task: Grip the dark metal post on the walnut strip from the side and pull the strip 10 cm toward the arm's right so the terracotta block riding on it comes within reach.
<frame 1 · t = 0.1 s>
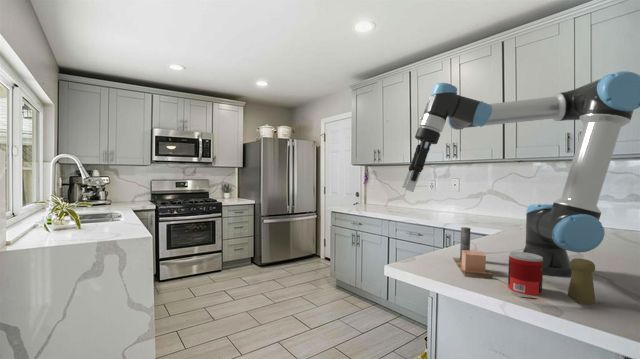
hand: (407, 189, 105), 28 cm above the countertop, tool tilted 20°, fingers open, 13 cm apart
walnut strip: (470, 251, 107), point 7 cm above the countertop, slide at 0.0 cm, touching terracotta block
cork: (581, 300, 83), on the countertop
canned food: (524, 294, 87), on the countertop
terracotta block: (472, 270, 103), point 1 cm above the countertop, touching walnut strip
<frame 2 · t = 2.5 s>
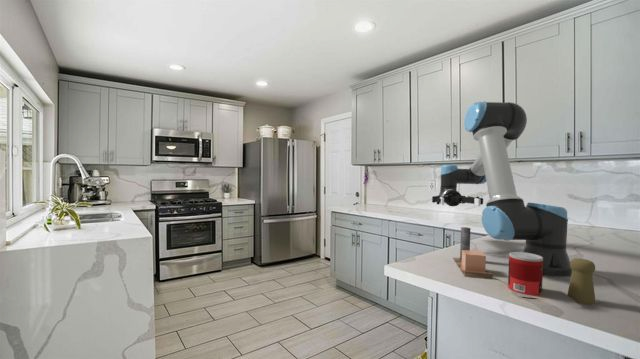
hand: (461, 202, 124), 22 cm above the countertop, tool horizontal, fingers open, 13 cm apart
nothing on the countertop moved.
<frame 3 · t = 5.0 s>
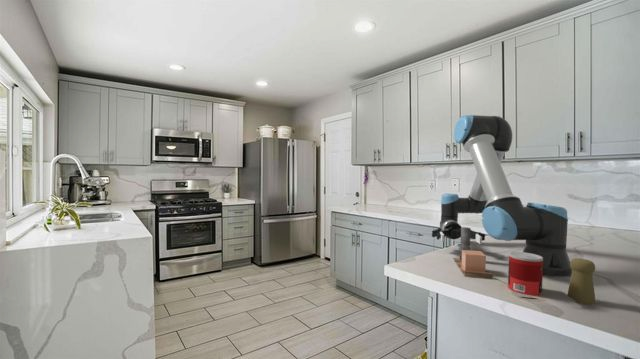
hand: (461, 239, 120), 8 cm above the countertop, tool horizontal, fingers open, 13 cm apart
nothing on the countertop moved.
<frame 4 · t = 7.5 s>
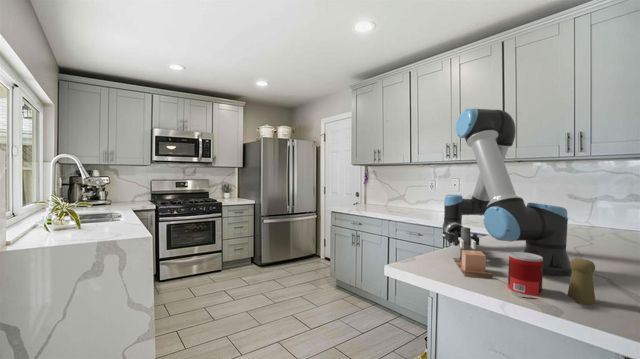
hand: (468, 245, 110), 8 cm above the countertop, tool horizontal, fingers closed on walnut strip, 3 cm apart
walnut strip: (470, 251, 107), point 7 cm above the countertop, slide at 0.0 cm, touching gripper, terracotta block
everything else where it was.
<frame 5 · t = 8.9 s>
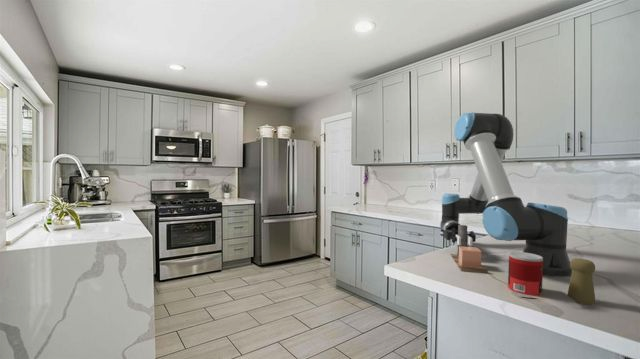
hand: (465, 241, 115), 8 cm above the countertop, tool horizontal, fingers closed on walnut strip, 3 cm apart
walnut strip: (467, 247, 112), point 7 cm above the countertop, slide at 5.3 cm, touching gripper, terracotta block
terracotta block: (469, 265, 108), point 1 cm above the countertop, touching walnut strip
everything else where it was.
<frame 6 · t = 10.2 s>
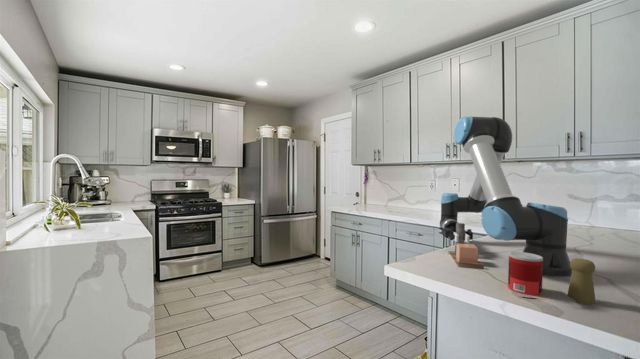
hand: (462, 239, 120), 8 cm above the countertop, tool horizontal, fingers closed on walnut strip, 3 cm apart
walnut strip: (464, 244, 117), point 7 cm above the countertop, slide at 10.0 cm, touching gripper, terracotta block
terracotta block: (466, 262, 113), point 1 cm above the countertop, touching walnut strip
everything else where it was.
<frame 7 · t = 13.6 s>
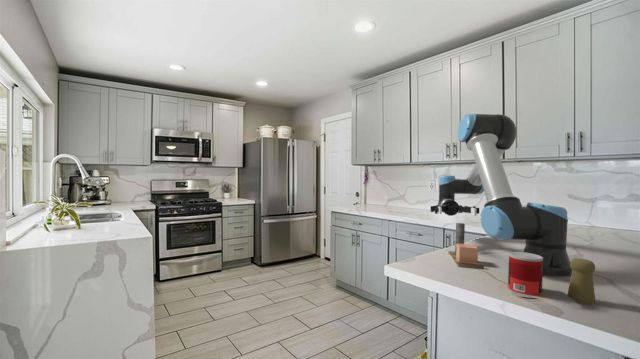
hand: (457, 211, 130), 17 cm above the countertop, tool horizontal, fingers open, 13 cm apart
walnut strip: (464, 244, 117), point 7 cm above the countertop, slide at 10.0 cm, touching terracotta block
everything else where it was.
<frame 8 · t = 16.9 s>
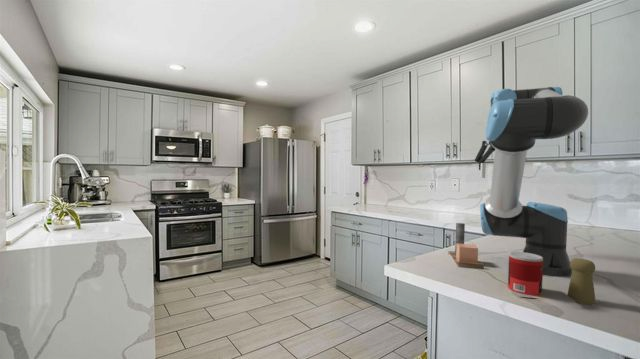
hand: (498, 178, 133), 32 cm above the countertop, tool pointing down, fingers open, 13 cm apart
nothing on the countertop moved.
at the end: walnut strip slide at 10.0 cm; terracotta block inside the target area (0.3 cm from its centre), point 1.2 cm above the countertop; terracotta block tilted 0° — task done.
